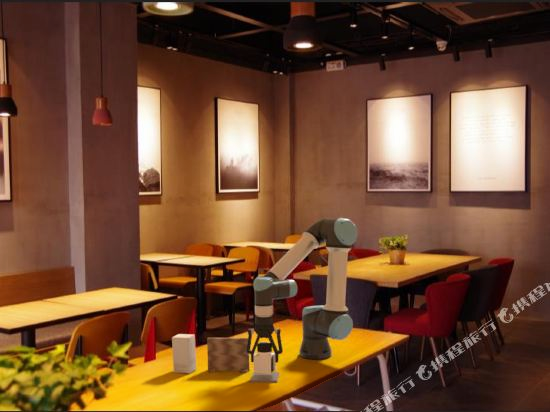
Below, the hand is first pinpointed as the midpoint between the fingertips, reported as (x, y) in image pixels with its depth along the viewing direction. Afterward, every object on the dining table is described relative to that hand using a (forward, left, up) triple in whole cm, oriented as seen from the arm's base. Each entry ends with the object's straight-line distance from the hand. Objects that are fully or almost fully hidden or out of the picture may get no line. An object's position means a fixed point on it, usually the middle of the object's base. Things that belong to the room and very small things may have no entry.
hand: (264, 369), depth 247 cm
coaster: (0, 0, -3) cm, 3 cm away
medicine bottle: (0, 0, -1) cm, 1 cm away
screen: (+17, -10, -3) cm, 20 cm away
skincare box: (+36, -8, -4) cm, 37 cm away
